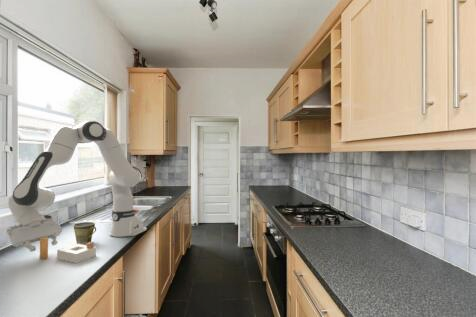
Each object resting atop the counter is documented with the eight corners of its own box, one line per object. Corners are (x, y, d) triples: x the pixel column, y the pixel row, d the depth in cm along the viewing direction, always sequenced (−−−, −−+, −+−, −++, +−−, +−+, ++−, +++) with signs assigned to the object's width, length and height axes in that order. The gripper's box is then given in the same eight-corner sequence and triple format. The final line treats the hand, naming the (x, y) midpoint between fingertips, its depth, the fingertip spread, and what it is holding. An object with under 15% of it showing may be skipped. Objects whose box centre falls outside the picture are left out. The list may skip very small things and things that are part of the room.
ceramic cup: (68, 244, 144) (68, 225, 144) (85, 239, 153) (85, 221, 153) (87, 247, 139) (87, 227, 139) (103, 242, 149) (103, 223, 149)
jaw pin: (45, 256, 126) (45, 236, 126) (49, 257, 125) (49, 237, 125) (38, 258, 123) (38, 238, 123) (42, 259, 122) (42, 239, 122)
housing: (77, 251, 133) (77, 239, 133) (95, 255, 128) (96, 242, 128) (57, 258, 124) (57, 245, 124) (76, 263, 119) (76, 249, 119)
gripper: (8, 223, 117) (22, 250, 113) (56, 214, 136) (69, 237, 132) (1, 232, 119) (15, 259, 115) (49, 222, 138) (62, 245, 134)
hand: (44, 247), depth 124 cm, fingers open, 8 cm apart
